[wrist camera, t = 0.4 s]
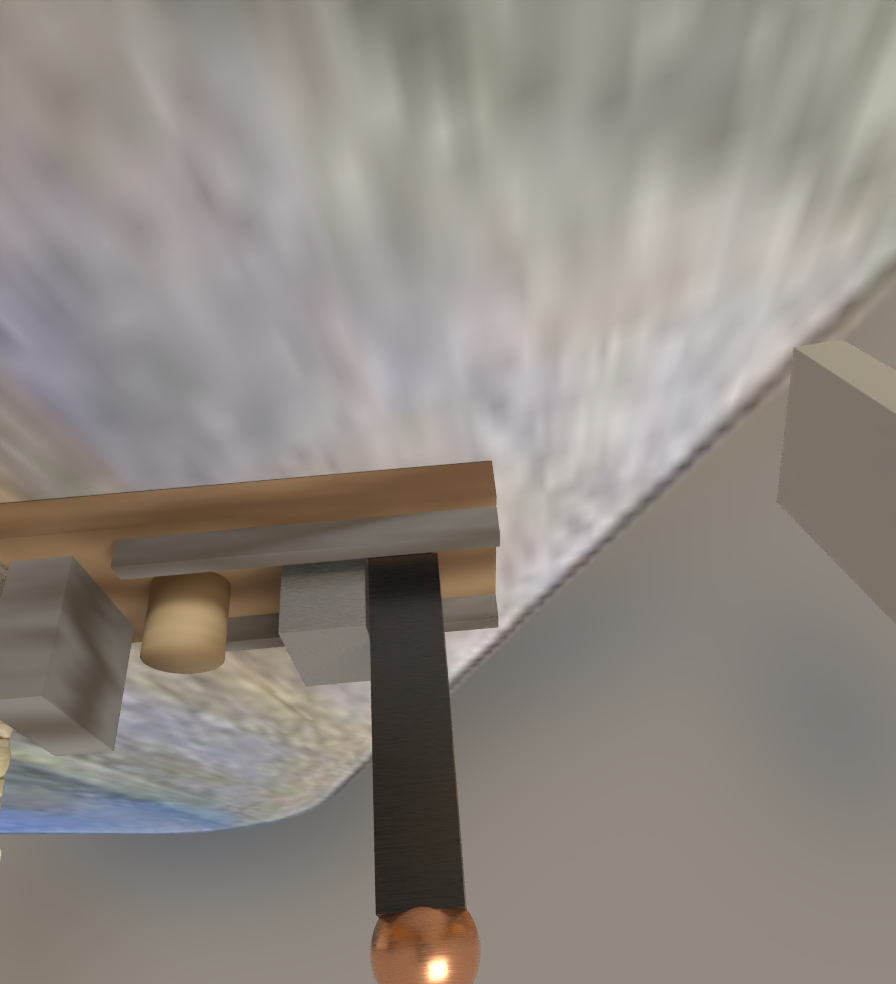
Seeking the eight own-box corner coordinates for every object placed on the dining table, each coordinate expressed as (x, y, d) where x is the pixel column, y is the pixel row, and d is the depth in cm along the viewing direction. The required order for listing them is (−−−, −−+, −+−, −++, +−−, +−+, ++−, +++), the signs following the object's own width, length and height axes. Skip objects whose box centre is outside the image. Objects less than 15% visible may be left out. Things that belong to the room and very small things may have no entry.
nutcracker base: (-11, 504, 38) (-67, 686, 33) (491, 460, 38) (515, 634, 33) (92, 615, 48) (62, 768, 43) (491, 580, 48) (509, 728, 43)
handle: (282, 550, 39) (258, 1028, 28) (444, 535, 39) (485, 1007, 28) (307, 610, 44) (296, 1030, 33) (450, 597, 44) (486, 1012, 33)
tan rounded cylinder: (139, 571, 40) (127, 645, 38) (218, 564, 40) (211, 637, 38) (166, 606, 43) (156, 676, 41) (239, 600, 43) (233, 669, 41)
